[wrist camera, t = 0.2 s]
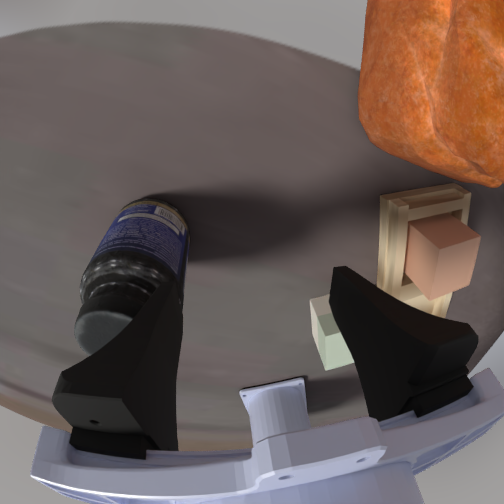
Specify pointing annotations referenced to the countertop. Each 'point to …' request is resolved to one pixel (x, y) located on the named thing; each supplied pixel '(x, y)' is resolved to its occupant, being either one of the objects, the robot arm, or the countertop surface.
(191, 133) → the countertop surface
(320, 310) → the two tone brick
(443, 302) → the socket board
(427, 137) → the bread
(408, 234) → the terracotta brick
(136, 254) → the pill bottle
